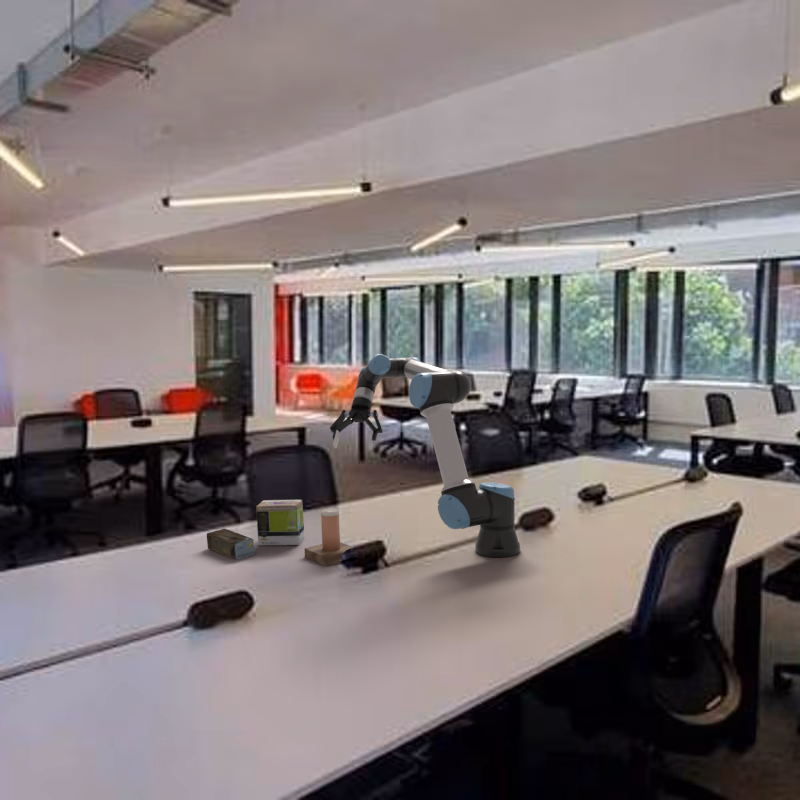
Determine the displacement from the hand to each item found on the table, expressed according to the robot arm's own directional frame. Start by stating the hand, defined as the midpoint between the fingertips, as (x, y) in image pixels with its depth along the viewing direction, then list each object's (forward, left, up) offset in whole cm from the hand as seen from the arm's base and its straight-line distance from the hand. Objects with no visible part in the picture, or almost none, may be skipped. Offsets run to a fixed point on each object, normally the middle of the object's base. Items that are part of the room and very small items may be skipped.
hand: (352, 446), depth 288 cm
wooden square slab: (-19, +23, -33) cm, 44 cm away
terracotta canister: (-19, +23, -30) cm, 42 cm away
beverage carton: (+11, +45, -33) cm, 57 cm away
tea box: (+9, +26, -33) cm, 43 cm away
